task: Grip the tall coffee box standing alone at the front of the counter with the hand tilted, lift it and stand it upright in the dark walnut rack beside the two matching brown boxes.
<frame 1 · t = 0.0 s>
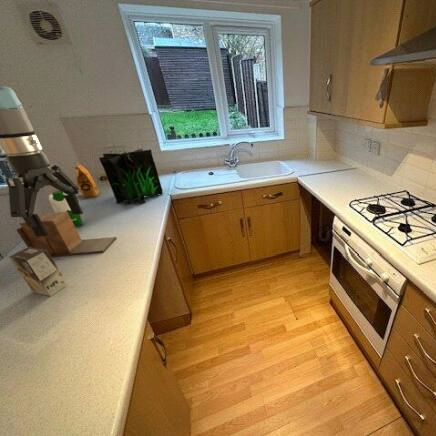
hand: (61, 223, 73), 29 cm above the worktop, tool pointing down, fingers open, 13 cm apart
rack: (78, 248, 112), on the worktop
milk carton: (74, 225, 133), on the worktop
coffee package: (91, 195, 172), on the worktop
coffee box: (51, 288, 89), on the worktop
decorative plant: (141, 196, 169), on the worktop
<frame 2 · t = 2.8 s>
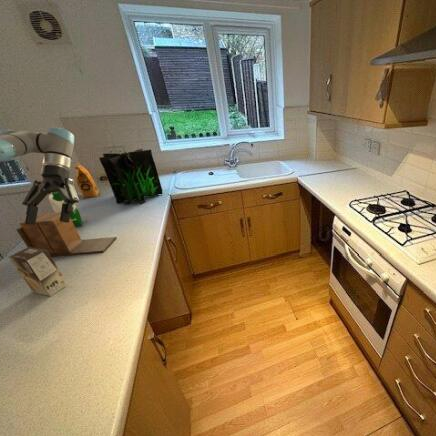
hand: (47, 222, 86), 23 cm above the worktop, tool tilted 40°, fingers open, 13 cm apart
nothing on the worktop moved.
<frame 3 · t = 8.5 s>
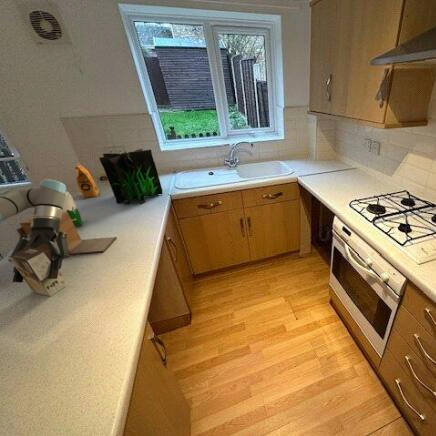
hand: (35, 280, 83), 7 cm above the worktop, tool tilted 45°, fingers closed on coffee box, 10 cm apart
coffee box: (51, 288, 89), on the worktop, touching gripper
everything else where it was.
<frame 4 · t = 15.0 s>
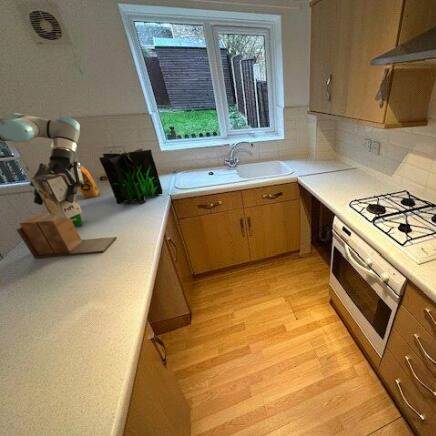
hand: (53, 202, 92), 27 cm above the worktop, tool tilted 45°, fingers closed on coffee box, 10 cm apart
coffee box: (67, 214, 98), point 20 cm above the worktop, touching gripper
everything else where it was.
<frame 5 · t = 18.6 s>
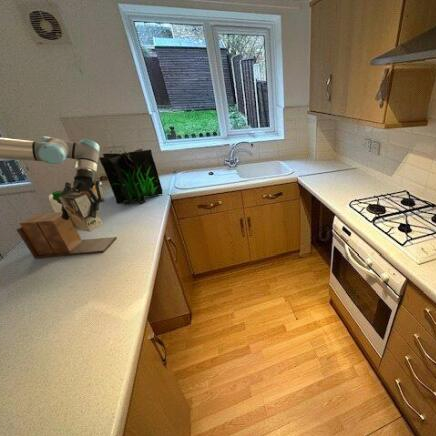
hand: (79, 218, 103), 17 cm above the worktop, tool tilted 45°, fingers closed on coffee box, 10 cm apart
coffee box: (89, 228, 109), point 10 cm above the worktop, touching gripper
everything else where it was.
when the fingers open (8 cm above the worktop, at t = 21.7 s): coffee box stays where it is, resting on rack.
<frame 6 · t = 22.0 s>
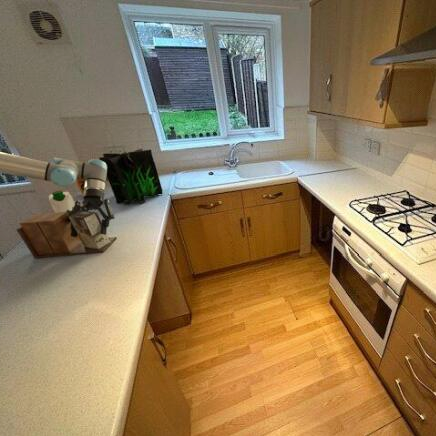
hand: (88, 235, 107), 8 cm above the worktop, tool tilted 45°, fingers open, 11 cm apart
coffee box: (97, 244, 113), point 1 cm above the worktop, touching rack
everything else where it was.
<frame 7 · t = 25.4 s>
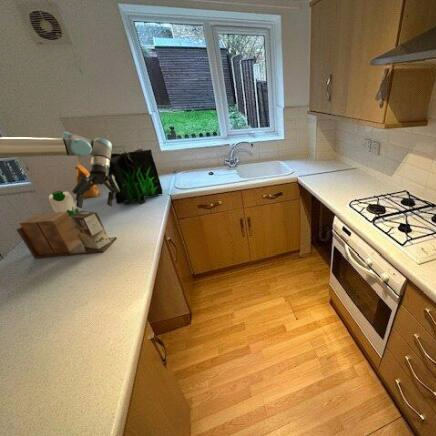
hand: (94, 206, 116), 16 cm above the worktop, tool tilted 45°, fingers open, 13 cm apart
nothing on the worktop moved.
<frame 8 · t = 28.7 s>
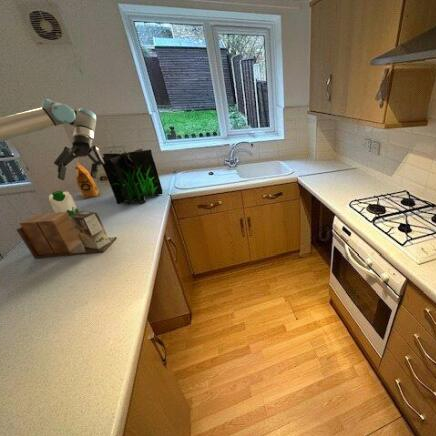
hand: (77, 178, 111), 30 cm above the worktop, tool tilted 45°, fingers open, 13 cm apart
nothing on the worktop moved.
at the end: coffee box inside the target area on the rack (0.3 cm from its centre), point 0.8 cm above the rack's base; coffee box tilted 0° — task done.
